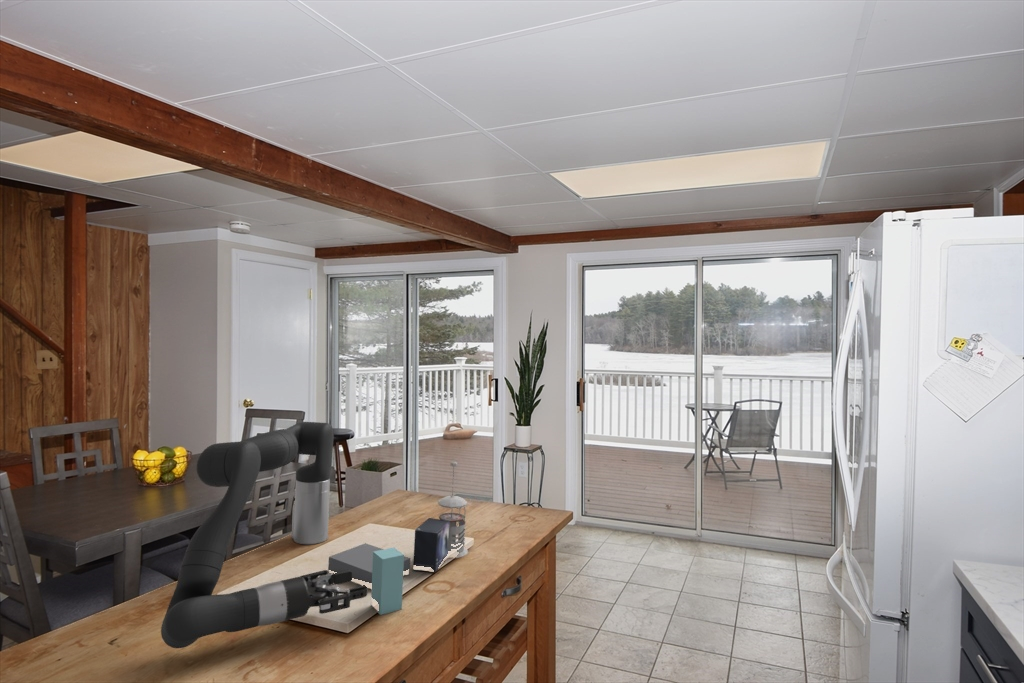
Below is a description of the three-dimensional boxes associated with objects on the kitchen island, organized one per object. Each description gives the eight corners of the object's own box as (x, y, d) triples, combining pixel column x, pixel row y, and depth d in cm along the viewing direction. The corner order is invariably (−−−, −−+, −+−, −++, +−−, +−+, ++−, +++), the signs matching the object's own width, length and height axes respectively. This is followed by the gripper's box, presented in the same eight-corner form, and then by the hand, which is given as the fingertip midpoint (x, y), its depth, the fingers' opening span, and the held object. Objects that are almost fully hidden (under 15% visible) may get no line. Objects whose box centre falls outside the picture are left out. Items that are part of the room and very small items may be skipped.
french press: (425, 554, 161) (429, 462, 161) (446, 540, 172) (449, 454, 172) (458, 560, 158) (461, 467, 157) (476, 546, 168) (480, 459, 168)
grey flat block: (328, 572, 147) (328, 556, 147) (364, 558, 157) (365, 543, 157) (374, 590, 138) (374, 573, 138) (409, 574, 148) (410, 558, 148)
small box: (436, 574, 149) (438, 532, 149) (411, 571, 150) (413, 529, 150) (449, 558, 159) (450, 519, 159) (426, 555, 160) (427, 517, 160)
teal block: (370, 605, 131) (373, 551, 130) (391, 600, 134) (394, 547, 133) (380, 615, 127) (382, 559, 126) (401, 609, 130) (404, 554, 129)
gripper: (291, 596, 111) (372, 577, 120) (270, 569, 122) (346, 554, 132) (289, 636, 111) (371, 614, 121) (269, 605, 122) (345, 587, 132)
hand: (358, 582), depth 126 cm, fingers open, 8 cm apart
